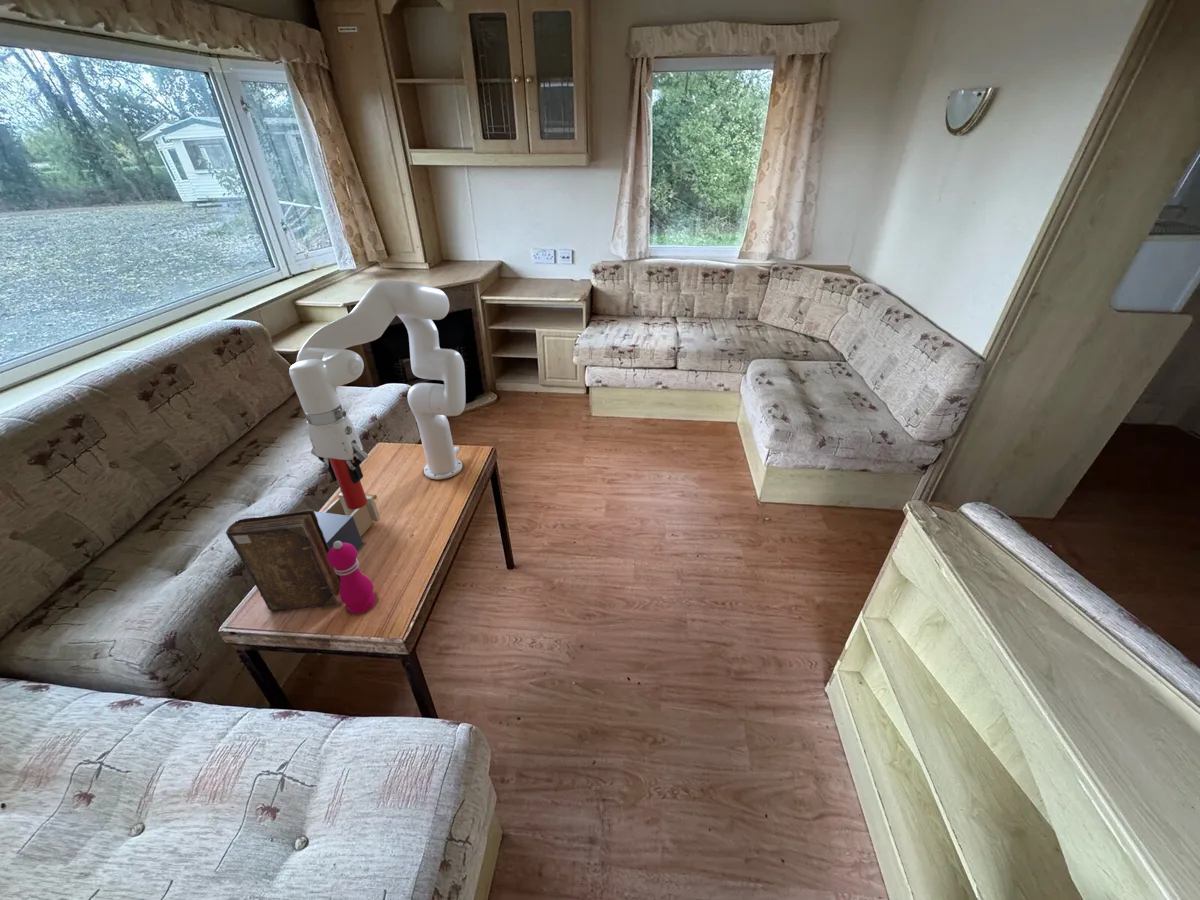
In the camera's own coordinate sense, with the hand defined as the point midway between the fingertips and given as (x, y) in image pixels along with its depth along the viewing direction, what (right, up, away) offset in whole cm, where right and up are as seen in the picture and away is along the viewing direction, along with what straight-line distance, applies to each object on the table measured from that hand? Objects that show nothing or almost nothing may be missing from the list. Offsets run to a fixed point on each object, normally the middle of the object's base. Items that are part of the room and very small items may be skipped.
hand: (348, 478), depth 119 cm
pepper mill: (+5, -30, -3) cm, 31 cm away
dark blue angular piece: (-11, -22, +10) cm, 27 cm away
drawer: (-8, -15, +19) cm, 26 cm away
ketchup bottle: (0, -7, +4) cm, 8 cm away
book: (-9, -29, -1) cm, 31 cm away
